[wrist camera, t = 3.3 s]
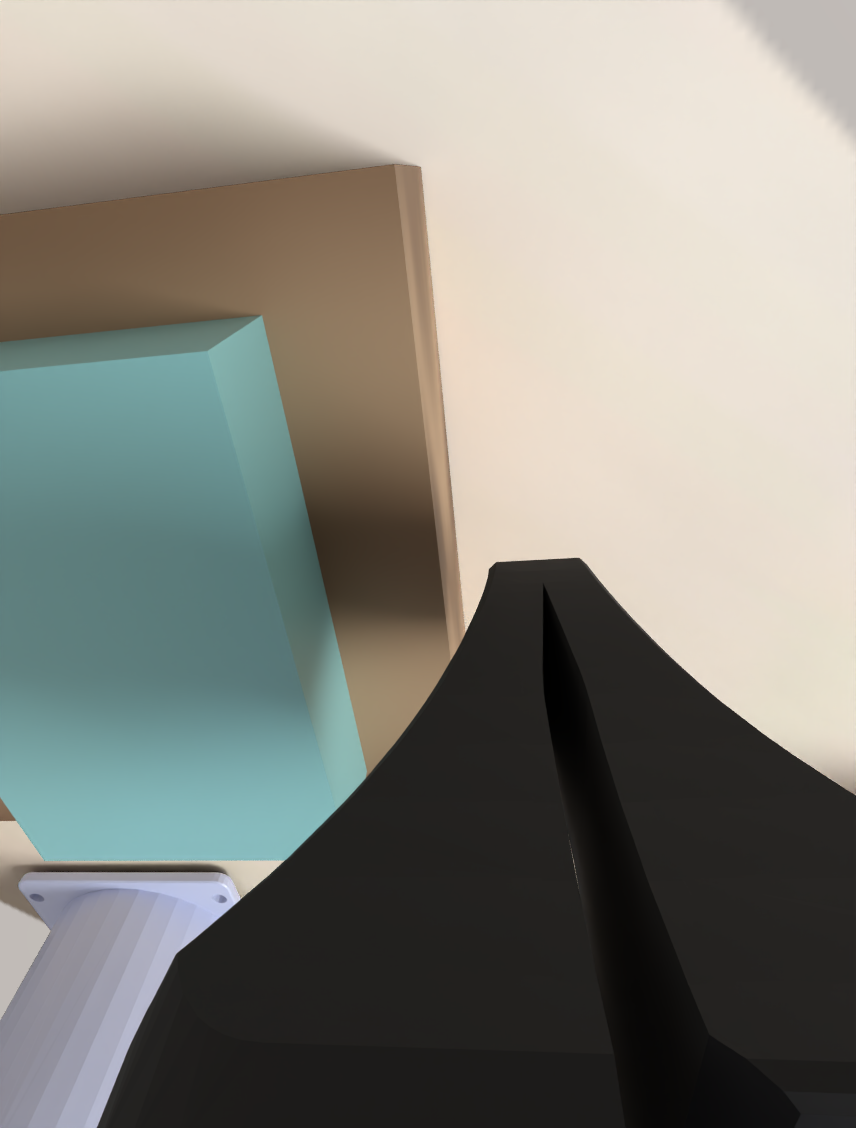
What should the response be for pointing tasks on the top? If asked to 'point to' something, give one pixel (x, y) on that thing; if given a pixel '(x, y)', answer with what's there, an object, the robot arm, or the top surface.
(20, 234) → the block
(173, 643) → the teal rectangular block
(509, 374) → the top surface
